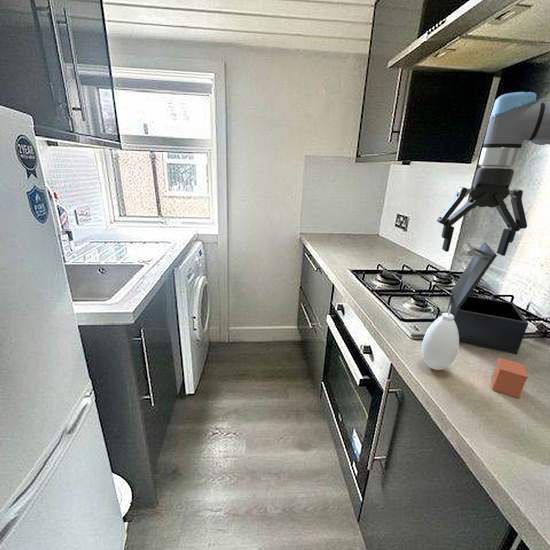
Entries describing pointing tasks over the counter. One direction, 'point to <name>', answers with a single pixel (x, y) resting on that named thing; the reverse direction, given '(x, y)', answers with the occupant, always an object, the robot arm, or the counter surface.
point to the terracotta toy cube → (508, 377)
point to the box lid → (472, 272)
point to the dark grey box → (489, 323)
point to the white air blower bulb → (441, 342)
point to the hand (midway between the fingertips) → (472, 252)
